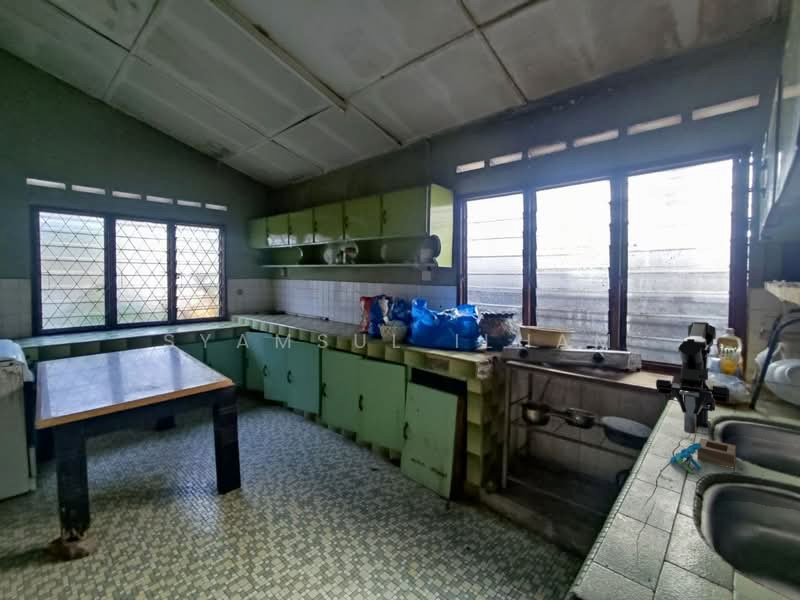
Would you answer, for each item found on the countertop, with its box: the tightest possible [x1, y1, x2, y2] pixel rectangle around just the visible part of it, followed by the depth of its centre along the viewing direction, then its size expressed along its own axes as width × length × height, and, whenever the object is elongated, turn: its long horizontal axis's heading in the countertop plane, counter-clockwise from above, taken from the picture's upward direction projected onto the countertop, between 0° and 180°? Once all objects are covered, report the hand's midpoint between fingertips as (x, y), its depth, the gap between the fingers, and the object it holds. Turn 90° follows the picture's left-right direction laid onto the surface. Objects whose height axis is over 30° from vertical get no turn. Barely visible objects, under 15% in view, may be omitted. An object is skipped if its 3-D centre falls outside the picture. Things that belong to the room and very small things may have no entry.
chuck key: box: [679, 390, 699, 435], centre depth 117 cm, size 3×5×13 cm, turn 43°
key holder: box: [696, 437, 737, 469], centre depth 113 cm, size 8×8×4 cm
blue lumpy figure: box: [669, 442, 702, 474], centre depth 108 cm, size 11×6×10 cm
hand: (689, 413), depth 116 cm, fingers closed on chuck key, 3 cm apart
